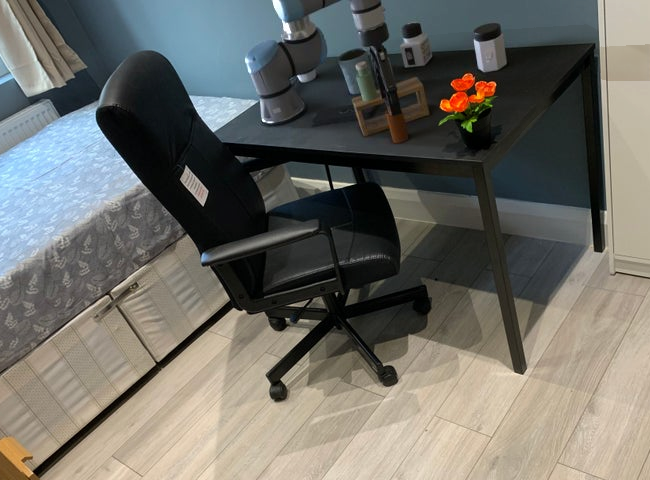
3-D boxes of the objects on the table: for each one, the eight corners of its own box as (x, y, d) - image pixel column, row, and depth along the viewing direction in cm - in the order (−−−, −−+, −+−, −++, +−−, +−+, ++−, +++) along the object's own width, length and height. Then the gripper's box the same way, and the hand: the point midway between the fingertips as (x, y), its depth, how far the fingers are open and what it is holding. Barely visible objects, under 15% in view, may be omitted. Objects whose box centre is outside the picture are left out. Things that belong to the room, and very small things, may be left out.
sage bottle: (361, 97, 183) (352, 64, 177) (376, 92, 183) (366, 58, 177) (364, 102, 180) (354, 68, 174) (378, 97, 179) (369, 63, 173)
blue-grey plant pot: (372, 79, 218) (363, 45, 211) (379, 88, 210) (370, 52, 203) (345, 89, 218) (335, 55, 211) (350, 98, 210) (340, 63, 203)
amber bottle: (391, 138, 178) (380, 98, 170) (406, 133, 178) (396, 93, 170) (394, 144, 174) (383, 104, 167) (410, 139, 174) (400, 98, 167)
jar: (476, 74, 197) (470, 35, 190) (480, 63, 203) (474, 26, 195) (505, 69, 193) (500, 30, 186) (508, 59, 199) (503, 20, 192)
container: (424, 65, 215) (416, 27, 207) (404, 67, 219) (395, 30, 211) (432, 56, 220) (425, 18, 212) (412, 58, 223) (404, 21, 216)
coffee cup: (296, 77, 243) (285, 46, 236) (323, 70, 241) (313, 38, 234) (292, 87, 235) (281, 56, 227) (320, 80, 232) (310, 48, 225)
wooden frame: (359, 126, 190) (351, 98, 185) (422, 105, 190) (416, 76, 184) (364, 136, 184) (355, 107, 178) (429, 114, 183) (422, 85, 178)
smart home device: (370, 111, 192) (311, 121, 199) (371, 117, 193) (312, 126, 200) (376, 100, 198) (318, 109, 205) (377, 105, 199) (320, 114, 206)
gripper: (396, 33, 147) (415, 117, 160) (376, 9, 167) (395, 86, 180) (365, 44, 147) (387, 126, 160) (349, 19, 167) (370, 94, 180)
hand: (391, 105), depth 170 cm, fingers open, 13 cm apart
